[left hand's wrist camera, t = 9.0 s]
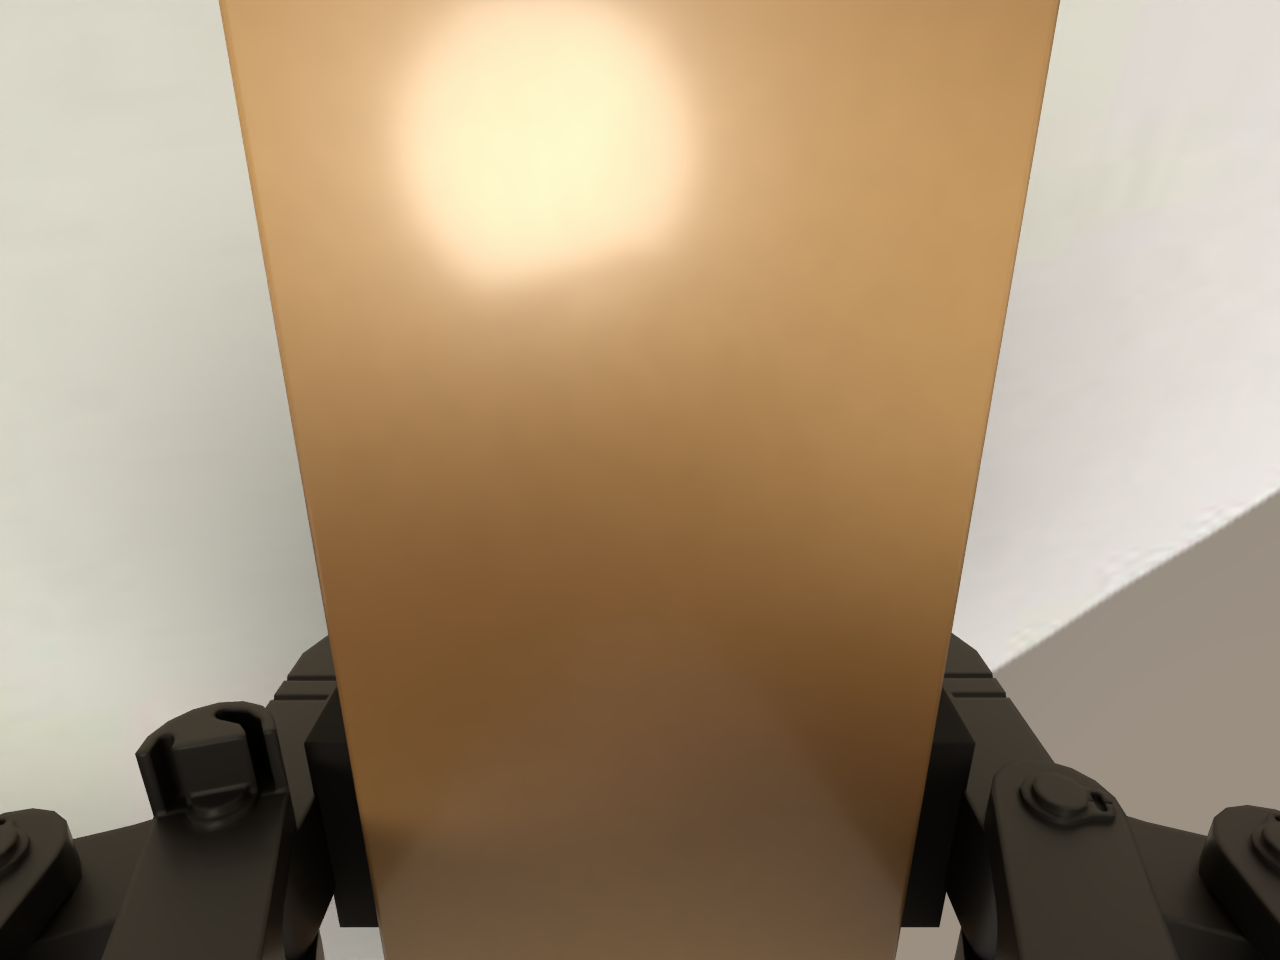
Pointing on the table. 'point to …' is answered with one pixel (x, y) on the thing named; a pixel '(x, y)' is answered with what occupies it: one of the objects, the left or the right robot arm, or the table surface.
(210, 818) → the left robot arm
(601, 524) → the bar
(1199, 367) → the table surface
